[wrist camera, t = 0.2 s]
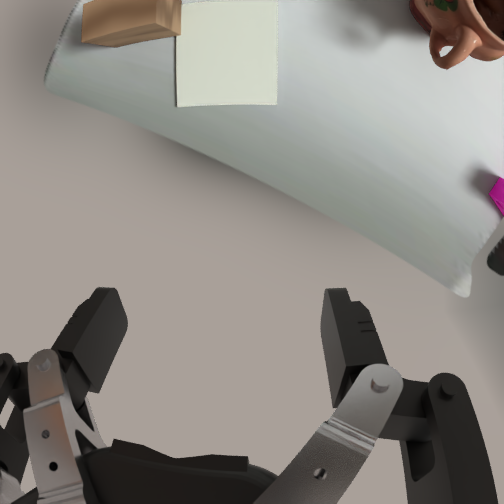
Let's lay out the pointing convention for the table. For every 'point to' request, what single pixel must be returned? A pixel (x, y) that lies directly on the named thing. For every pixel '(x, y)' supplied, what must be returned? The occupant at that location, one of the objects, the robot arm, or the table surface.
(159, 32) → the walnut block
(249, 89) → the mat
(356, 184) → the table surface
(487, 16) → the decorative planter
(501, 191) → the toy block
